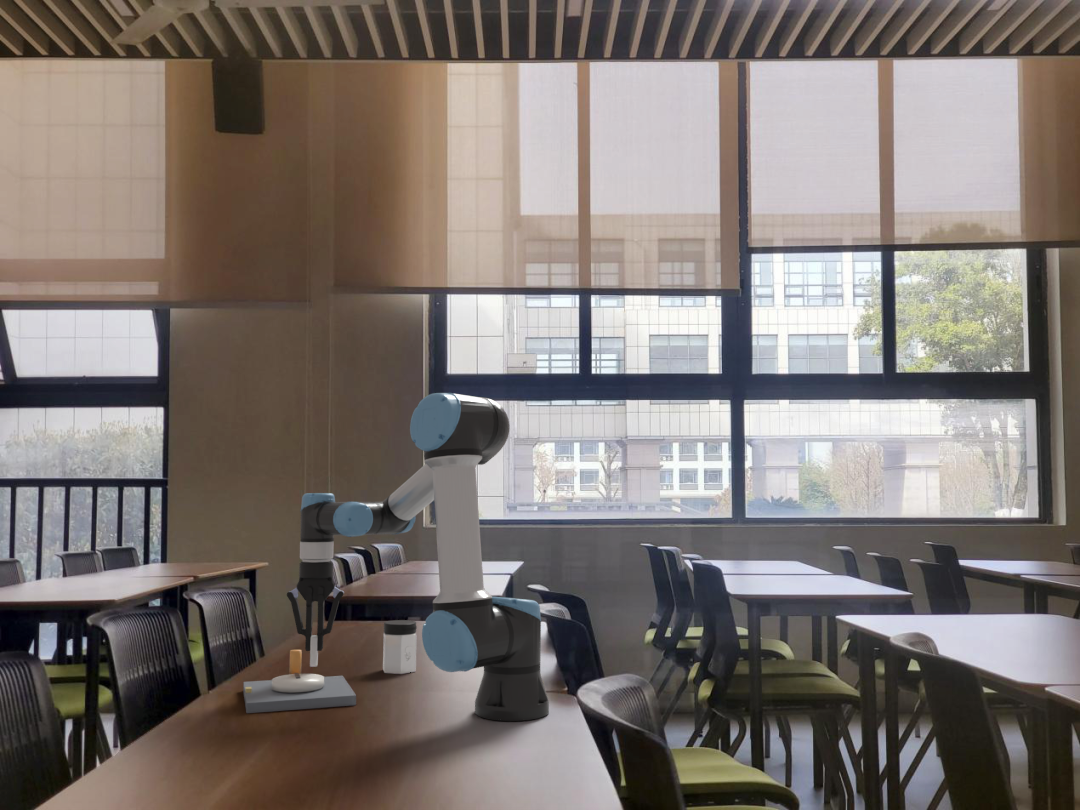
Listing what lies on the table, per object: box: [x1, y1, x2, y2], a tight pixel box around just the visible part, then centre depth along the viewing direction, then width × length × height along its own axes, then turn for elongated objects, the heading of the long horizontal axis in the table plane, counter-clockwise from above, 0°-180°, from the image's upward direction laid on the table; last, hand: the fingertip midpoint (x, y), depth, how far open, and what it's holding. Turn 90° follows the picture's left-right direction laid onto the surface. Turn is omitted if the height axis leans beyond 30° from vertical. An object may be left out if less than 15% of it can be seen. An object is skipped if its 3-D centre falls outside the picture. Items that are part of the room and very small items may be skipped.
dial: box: [271, 649, 325, 692], centre depth 201 cm, size 15×11×6 cm
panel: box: [242, 675, 357, 714], centre depth 198 cm, size 22×22×3 cm
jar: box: [382, 619, 418, 675], centre depth 229 cm, size 9×8×12 cm
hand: (313, 665), depth 207 cm, fingers closed
